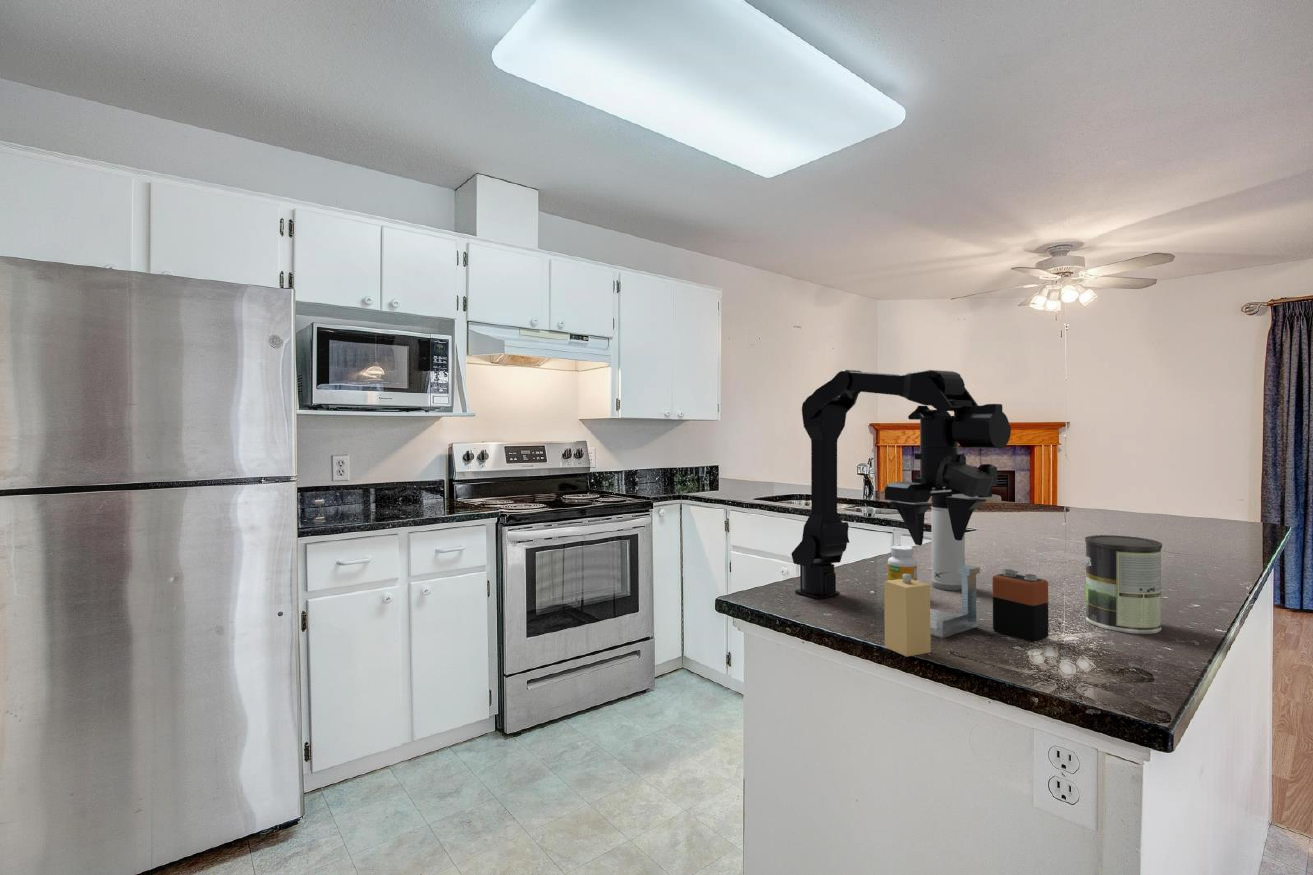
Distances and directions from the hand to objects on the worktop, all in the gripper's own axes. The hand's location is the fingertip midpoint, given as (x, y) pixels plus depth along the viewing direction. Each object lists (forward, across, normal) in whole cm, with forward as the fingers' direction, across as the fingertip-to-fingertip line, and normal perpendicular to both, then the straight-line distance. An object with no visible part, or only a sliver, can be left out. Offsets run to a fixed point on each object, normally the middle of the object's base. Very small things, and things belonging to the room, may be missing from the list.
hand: (938, 542), depth 104 cm
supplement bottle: (+15, +11, +18) cm, 25 cm away
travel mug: (+15, +25, +18) cm, 34 cm away
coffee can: (+14, +29, -12) cm, 34 cm away
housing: (+14, -12, -5) cm, 19 cm away
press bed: (+14, +1, +2) cm, 14 cm away
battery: (+14, +9, -8) cm, 19 cm away
